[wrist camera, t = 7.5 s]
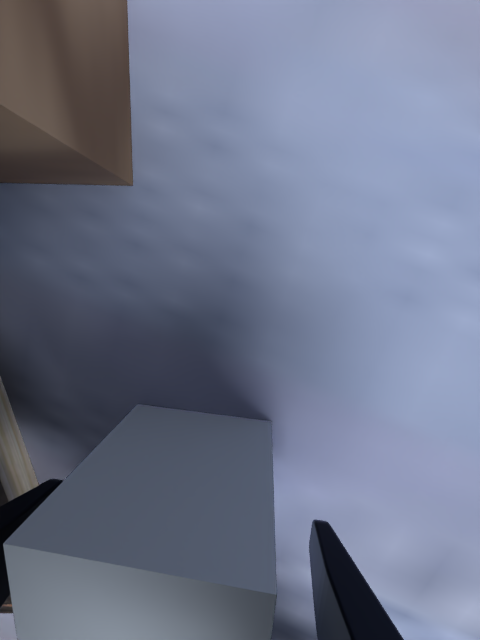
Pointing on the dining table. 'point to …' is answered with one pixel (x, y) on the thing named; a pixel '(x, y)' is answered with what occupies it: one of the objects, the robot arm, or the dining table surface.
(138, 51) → the dining table surface
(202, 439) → the grey block
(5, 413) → the hardcover book
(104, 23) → the walnut cube
